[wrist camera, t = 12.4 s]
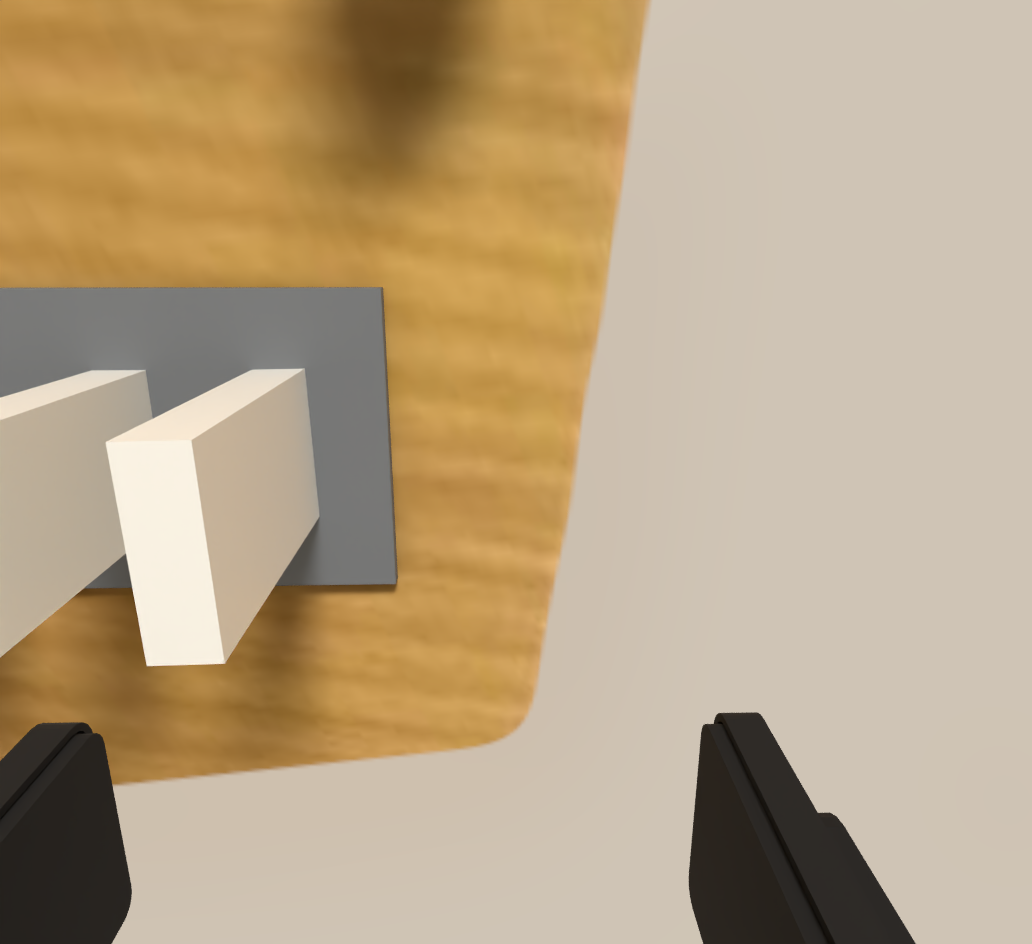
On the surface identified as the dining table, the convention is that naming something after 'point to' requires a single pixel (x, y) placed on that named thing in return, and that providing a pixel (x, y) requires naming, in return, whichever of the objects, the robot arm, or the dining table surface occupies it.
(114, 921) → the robot arm
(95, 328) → the mat
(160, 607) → the domino
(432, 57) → the dining table surface
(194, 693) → the dining table surface
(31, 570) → the domino
